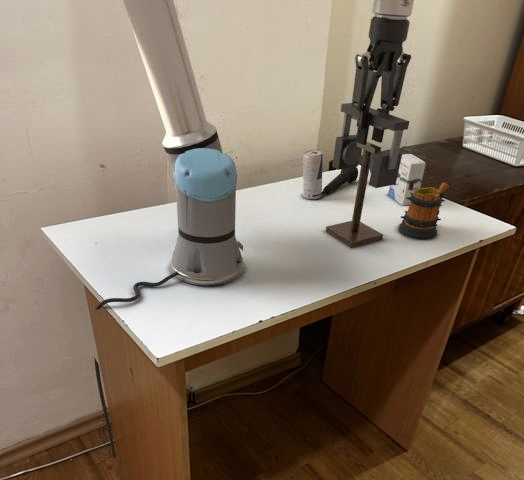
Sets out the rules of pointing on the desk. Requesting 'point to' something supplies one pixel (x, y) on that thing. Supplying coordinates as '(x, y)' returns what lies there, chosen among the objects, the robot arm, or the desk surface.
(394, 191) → the ink box
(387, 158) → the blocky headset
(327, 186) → the microphone
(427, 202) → the mug
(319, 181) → the energy drink
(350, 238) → the stand
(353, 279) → the desk surface
